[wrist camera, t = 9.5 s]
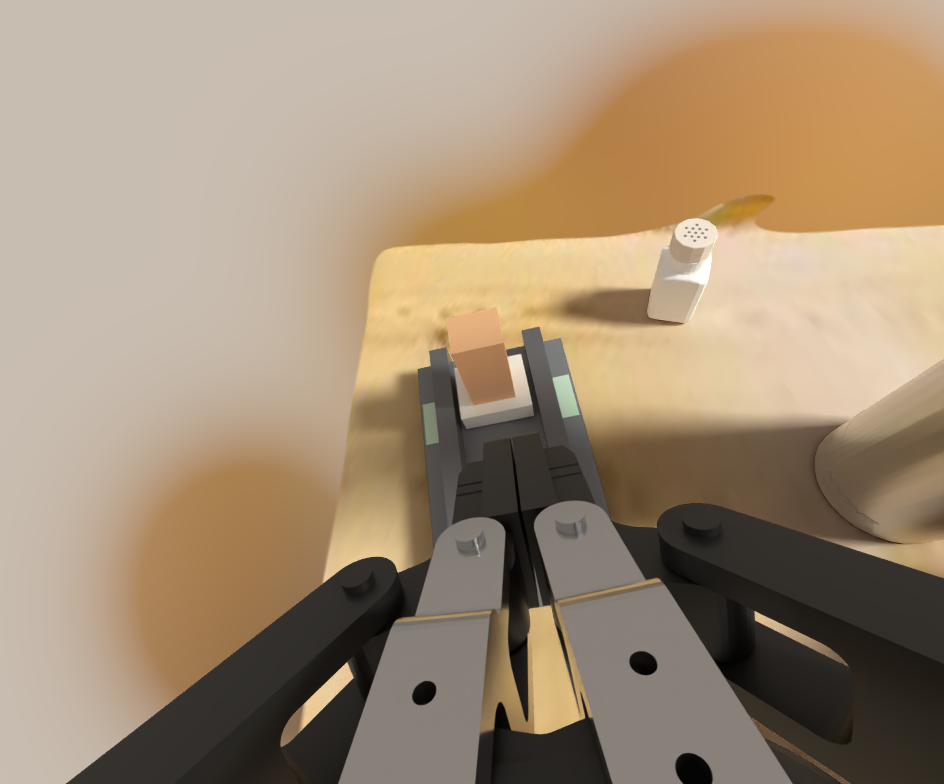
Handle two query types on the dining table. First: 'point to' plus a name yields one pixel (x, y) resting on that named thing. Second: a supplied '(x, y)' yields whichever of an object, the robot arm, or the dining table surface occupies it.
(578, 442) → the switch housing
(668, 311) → the salt shaker
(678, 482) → the dining table surface
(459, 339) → the switch lever
